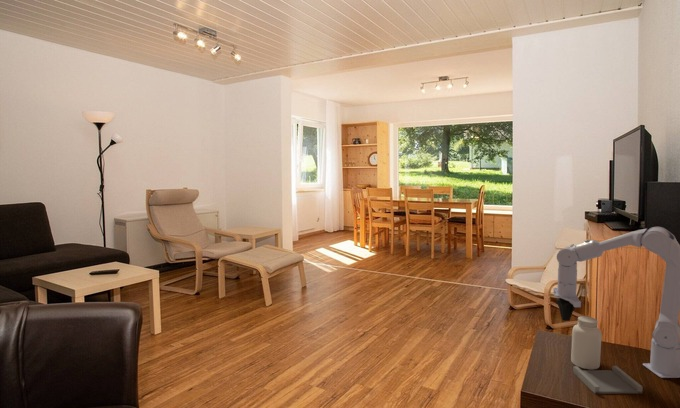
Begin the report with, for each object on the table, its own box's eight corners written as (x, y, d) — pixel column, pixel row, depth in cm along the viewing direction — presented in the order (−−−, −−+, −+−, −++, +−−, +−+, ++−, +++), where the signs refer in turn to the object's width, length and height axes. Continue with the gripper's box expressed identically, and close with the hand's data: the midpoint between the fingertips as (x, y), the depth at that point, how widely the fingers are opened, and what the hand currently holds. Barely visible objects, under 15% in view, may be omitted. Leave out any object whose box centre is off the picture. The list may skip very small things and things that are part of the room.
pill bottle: (604, 371, 127) (606, 324, 125) (576, 369, 128) (577, 323, 127) (594, 359, 134) (596, 314, 133) (567, 357, 136) (568, 313, 134)
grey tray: (616, 371, 126) (616, 365, 126) (642, 393, 115) (642, 386, 115) (572, 372, 127) (573, 366, 126) (594, 393, 115) (595, 386, 115)
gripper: (545, 276, 149) (544, 312, 150) (566, 288, 134) (564, 328, 136) (565, 275, 149) (564, 312, 150) (588, 288, 134) (586, 328, 136)
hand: (565, 320), depth 143 cm, fingers closed
